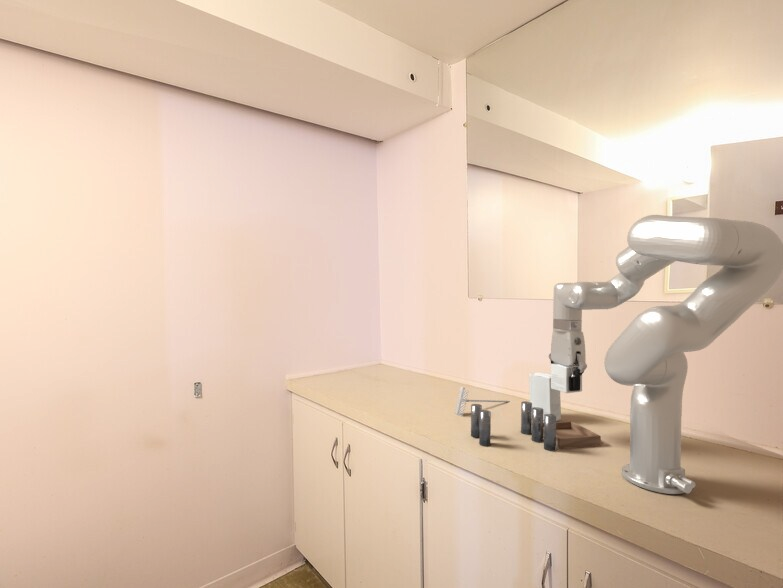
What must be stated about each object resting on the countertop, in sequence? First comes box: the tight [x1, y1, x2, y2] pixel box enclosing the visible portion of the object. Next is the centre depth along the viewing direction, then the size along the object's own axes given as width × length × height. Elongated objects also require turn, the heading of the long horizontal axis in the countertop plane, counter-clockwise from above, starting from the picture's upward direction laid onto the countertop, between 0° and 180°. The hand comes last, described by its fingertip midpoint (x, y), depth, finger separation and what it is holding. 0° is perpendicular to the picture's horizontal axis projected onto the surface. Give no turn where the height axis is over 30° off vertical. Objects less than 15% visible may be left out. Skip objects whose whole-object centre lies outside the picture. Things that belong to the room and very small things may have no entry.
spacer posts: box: [470, 400, 557, 452], centre depth 109 cm, size 15×19×9 cm
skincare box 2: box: [550, 363, 583, 394], centre depth 112 cm, size 6×6×7 cm
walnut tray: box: [543, 420, 602, 449], centre depth 112 cm, size 13×13×3 cm
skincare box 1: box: [528, 371, 562, 422], centre depth 130 cm, size 8×6×15 cm
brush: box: [454, 386, 510, 417], centre depth 140 cm, size 4×28×9 cm, turn 124°
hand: (566, 386), depth 112 cm, fingers closed on skincare box 2, 6 cm apart
